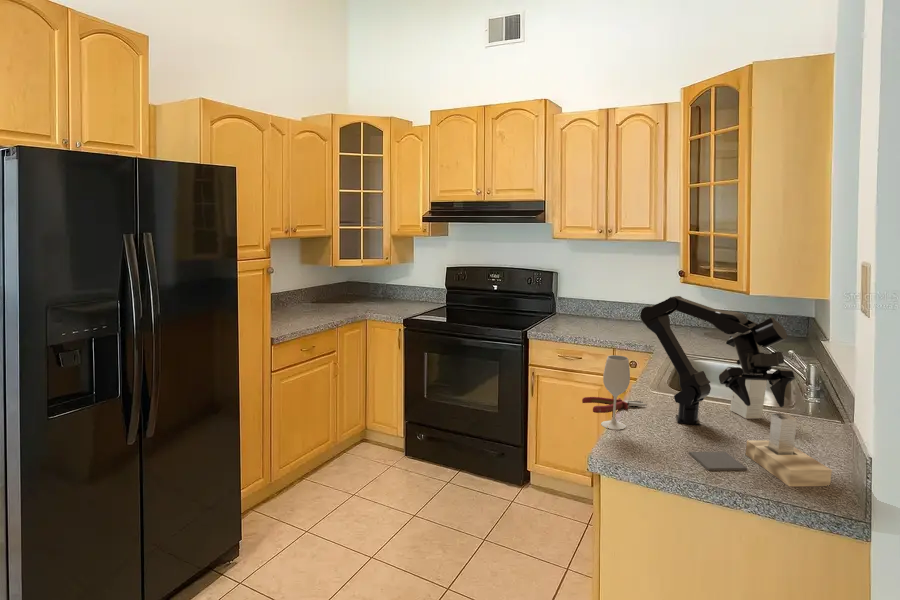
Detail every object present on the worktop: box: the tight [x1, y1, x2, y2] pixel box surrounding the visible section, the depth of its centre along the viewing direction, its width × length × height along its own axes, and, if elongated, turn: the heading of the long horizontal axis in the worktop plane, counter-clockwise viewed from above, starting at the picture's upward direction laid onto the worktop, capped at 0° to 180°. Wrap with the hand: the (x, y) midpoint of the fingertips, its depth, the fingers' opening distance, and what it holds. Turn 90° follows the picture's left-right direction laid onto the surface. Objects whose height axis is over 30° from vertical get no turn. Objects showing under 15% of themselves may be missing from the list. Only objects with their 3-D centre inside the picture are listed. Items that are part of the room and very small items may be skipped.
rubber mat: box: [688, 451, 748, 471], centre depth 147 cm, size 10×10×1 cm
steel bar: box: [768, 413, 798, 455], centre depth 145 cm, size 4×4×13 cm
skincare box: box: [729, 366, 768, 420], centre depth 183 cm, size 8×6×15 cm
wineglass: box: [600, 354, 631, 431], centre depth 170 cm, size 8×8×21 cm
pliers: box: [581, 396, 648, 414], centre depth 189 cm, size 12×20×3 cm, turn 98°
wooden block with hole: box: [745, 439, 833, 487], centre depth 143 cm, size 18×10×4 cm, turn 3°
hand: (765, 406), depth 151 cm, fingers open, 9 cm apart
